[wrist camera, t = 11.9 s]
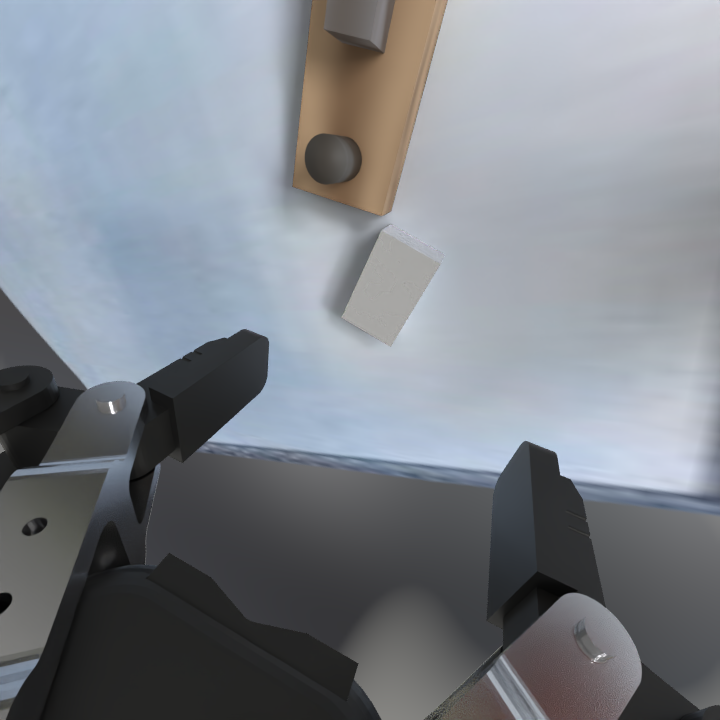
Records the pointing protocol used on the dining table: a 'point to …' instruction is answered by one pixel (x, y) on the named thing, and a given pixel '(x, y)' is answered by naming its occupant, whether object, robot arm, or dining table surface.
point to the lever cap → (391, 283)
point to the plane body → (362, 96)
